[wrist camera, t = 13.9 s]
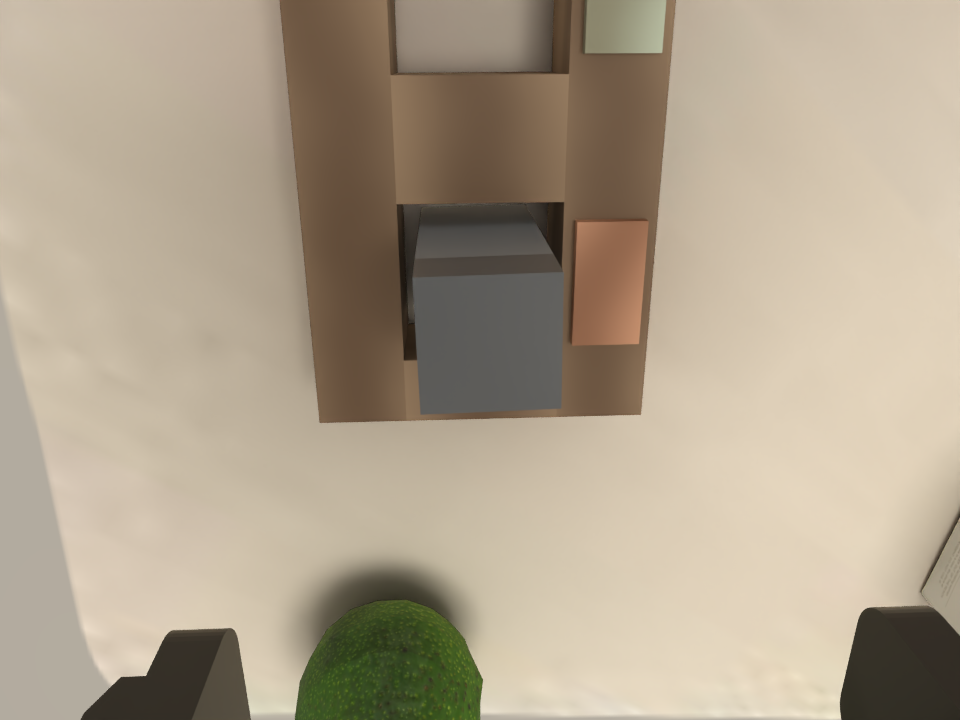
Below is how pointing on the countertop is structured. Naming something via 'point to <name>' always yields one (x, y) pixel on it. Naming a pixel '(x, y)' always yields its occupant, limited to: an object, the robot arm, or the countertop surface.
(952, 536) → the supplement box
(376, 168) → the socket block
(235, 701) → the robot arm
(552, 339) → the plug
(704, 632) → the countertop surface
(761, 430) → the countertop surface
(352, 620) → the avocado
